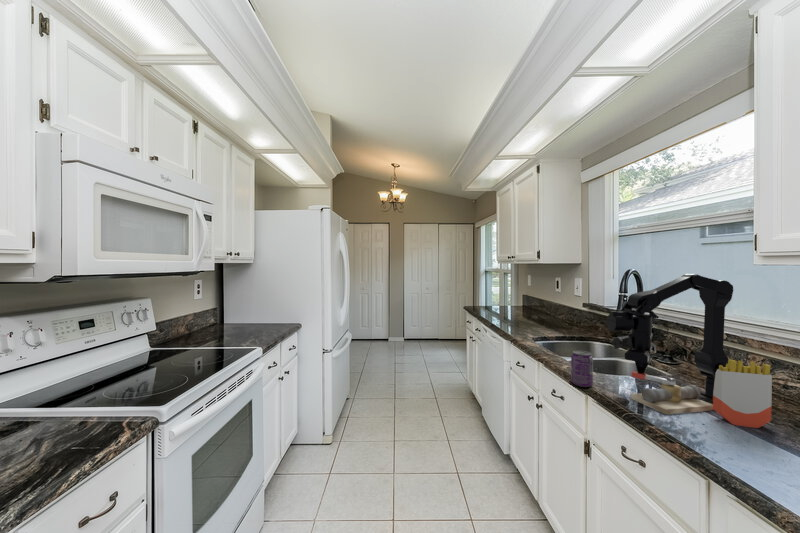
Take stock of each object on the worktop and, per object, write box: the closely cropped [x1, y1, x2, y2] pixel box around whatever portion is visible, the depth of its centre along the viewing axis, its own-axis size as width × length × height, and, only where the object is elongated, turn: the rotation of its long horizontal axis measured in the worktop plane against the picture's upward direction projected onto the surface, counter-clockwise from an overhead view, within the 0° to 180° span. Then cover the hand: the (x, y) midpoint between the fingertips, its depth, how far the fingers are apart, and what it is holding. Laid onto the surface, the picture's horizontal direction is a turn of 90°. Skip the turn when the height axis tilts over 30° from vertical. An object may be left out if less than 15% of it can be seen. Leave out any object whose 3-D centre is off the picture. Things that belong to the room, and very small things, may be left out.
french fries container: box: [712, 358, 773, 429], centre depth 93 cm, size 5×11×18 cm, turn 73°
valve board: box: [630, 383, 715, 415], centre depth 106 cm, size 18×12×6 cm, turn 101°
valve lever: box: [631, 370, 677, 386], centre depth 109 cm, size 12×2×2 cm, turn 40°
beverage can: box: [570, 350, 594, 388], centre depth 122 cm, size 7×7×12 cm
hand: (640, 375), depth 114 cm, fingers closed
